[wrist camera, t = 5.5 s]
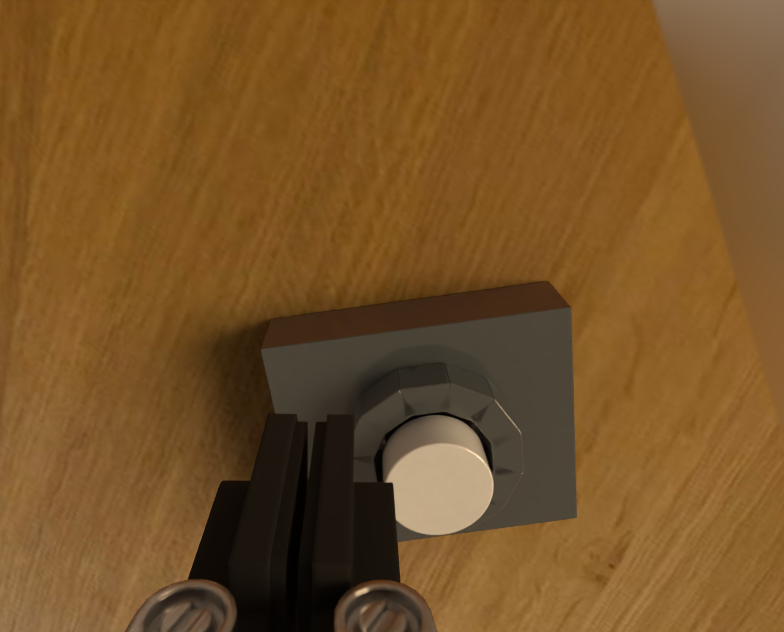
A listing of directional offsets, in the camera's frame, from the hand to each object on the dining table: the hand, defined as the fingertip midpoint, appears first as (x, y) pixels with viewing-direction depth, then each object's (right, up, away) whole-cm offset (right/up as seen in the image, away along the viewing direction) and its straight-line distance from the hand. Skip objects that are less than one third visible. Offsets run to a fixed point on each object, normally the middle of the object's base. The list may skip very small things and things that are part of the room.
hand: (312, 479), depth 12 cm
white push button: (+3, -2, +13) cm, 13 cm away
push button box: (+3, -1, +17) cm, 17 cm away
